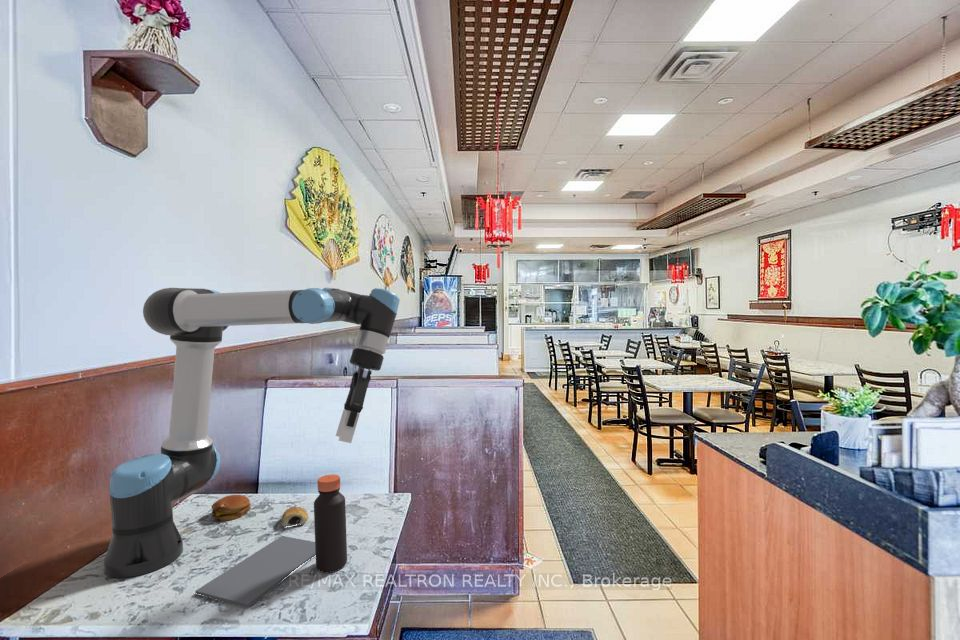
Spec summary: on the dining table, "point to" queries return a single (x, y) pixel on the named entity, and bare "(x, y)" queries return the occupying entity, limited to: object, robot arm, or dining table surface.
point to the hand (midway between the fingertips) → (342, 439)
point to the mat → (259, 572)
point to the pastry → (294, 516)
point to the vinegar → (330, 525)
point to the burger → (231, 507)
